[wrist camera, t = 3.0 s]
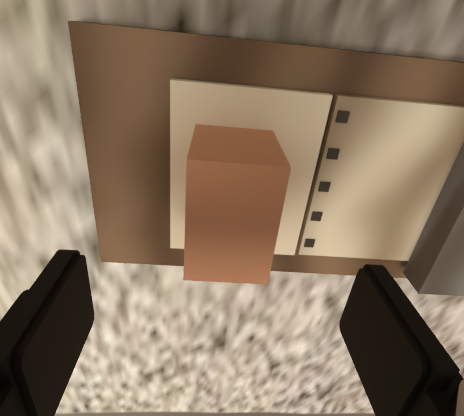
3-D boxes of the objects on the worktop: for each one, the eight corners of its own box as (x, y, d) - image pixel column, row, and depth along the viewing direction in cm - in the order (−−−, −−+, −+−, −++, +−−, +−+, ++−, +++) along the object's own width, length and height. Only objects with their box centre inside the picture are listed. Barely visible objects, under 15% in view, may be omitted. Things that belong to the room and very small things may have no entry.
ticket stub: (329, 93, 16) (375, 121, 11) (292, 249, 21) (313, 315, 16) (171, 78, 16) (149, 101, 11) (171, 242, 21) (156, 309, 16)
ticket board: (562, 72, 18) (648, 84, 14) (452, 267, 25) (492, 308, 21) (80, 21, 16) (39, 19, 12) (108, 248, 23) (87, 289, 19)
